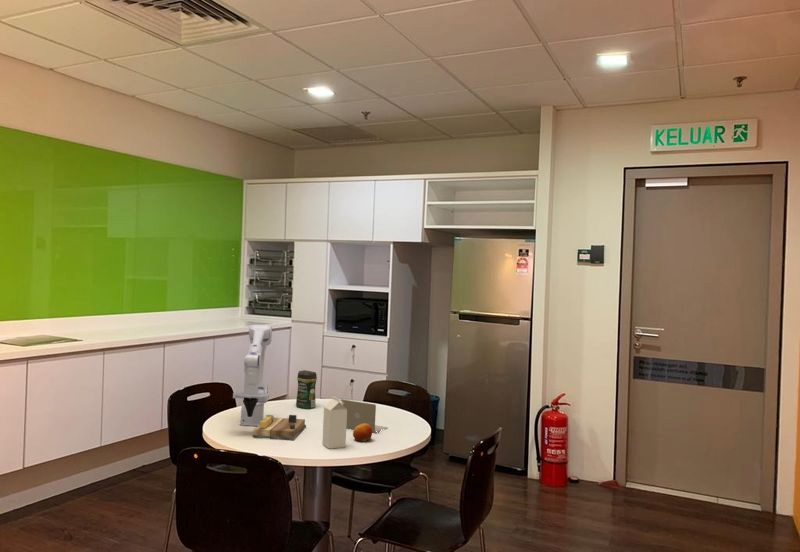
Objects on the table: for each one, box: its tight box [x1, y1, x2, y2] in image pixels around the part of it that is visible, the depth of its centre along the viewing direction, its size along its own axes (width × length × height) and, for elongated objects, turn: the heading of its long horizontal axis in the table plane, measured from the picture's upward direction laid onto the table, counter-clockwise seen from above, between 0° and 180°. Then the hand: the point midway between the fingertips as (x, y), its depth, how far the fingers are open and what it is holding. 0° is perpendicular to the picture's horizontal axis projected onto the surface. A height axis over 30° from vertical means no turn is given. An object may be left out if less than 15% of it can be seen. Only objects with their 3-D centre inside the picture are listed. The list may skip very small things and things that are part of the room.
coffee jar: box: [295, 369, 318, 410], centre depth 299 cm, size 10×8×19 cm
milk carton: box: [321, 395, 347, 450], centre depth 233 cm, size 7×7×19 cm
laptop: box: [340, 398, 388, 434], centre depth 263 cm, size 18×12×13 cm
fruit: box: [352, 423, 373, 443], centre depth 243 cm, size 8×8×8 cm
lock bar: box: [259, 414, 274, 428], centre depth 247 cm, size 13×3×2 cm, turn 178°
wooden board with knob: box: [252, 414, 307, 441], centre depth 249 cm, size 17×22×6 cm
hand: (249, 416), depth 244 cm, fingers closed
